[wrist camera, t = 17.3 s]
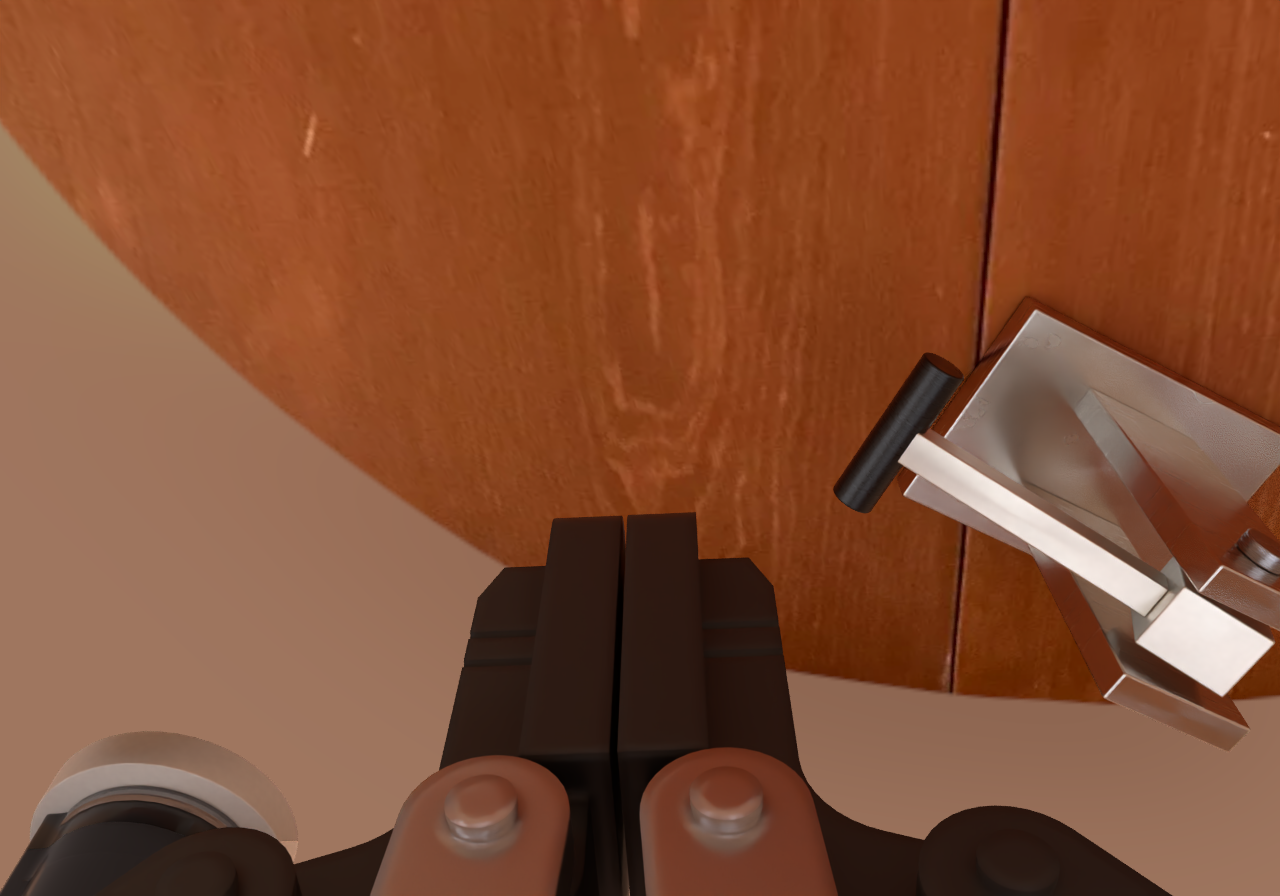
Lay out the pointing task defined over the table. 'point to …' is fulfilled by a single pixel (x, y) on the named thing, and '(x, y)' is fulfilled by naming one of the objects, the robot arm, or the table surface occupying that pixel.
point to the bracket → (1123, 492)
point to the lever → (1053, 535)
